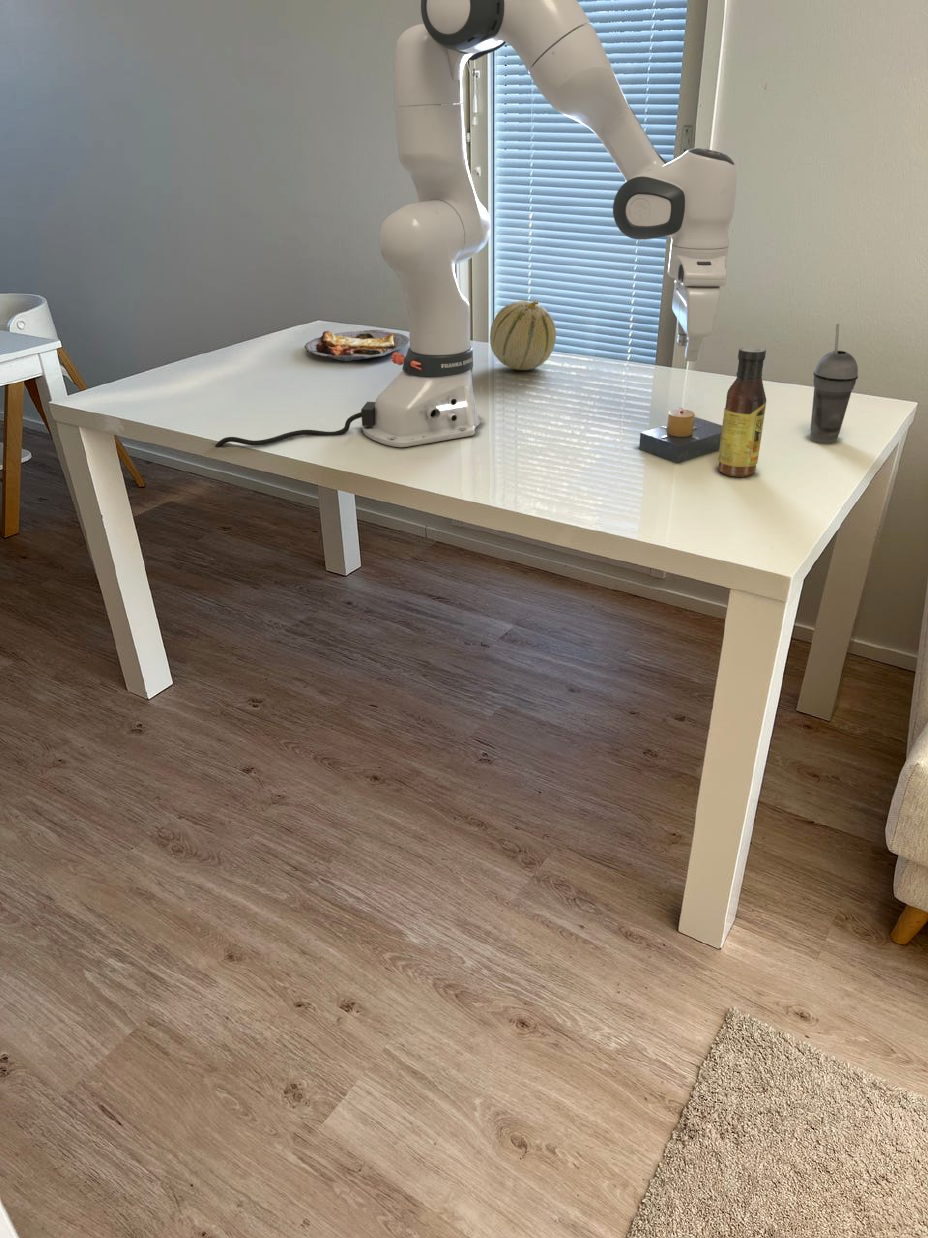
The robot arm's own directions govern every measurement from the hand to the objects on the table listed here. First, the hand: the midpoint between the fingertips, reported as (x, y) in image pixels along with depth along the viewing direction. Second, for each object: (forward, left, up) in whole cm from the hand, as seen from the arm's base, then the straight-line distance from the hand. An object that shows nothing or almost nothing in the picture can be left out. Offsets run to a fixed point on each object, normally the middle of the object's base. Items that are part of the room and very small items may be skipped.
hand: (686, 352), depth 152 cm
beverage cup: (+24, -13, -17) cm, 32 cm away
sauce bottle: (0, -13, -17) cm, 22 cm away
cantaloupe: (+12, +57, -17) cm, 61 cm away
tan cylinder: (0, 0, -14) cm, 14 cm away
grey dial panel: (+2, 0, -17) cm, 17 cm away
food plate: (-9, +94, -17) cm, 96 cm away
